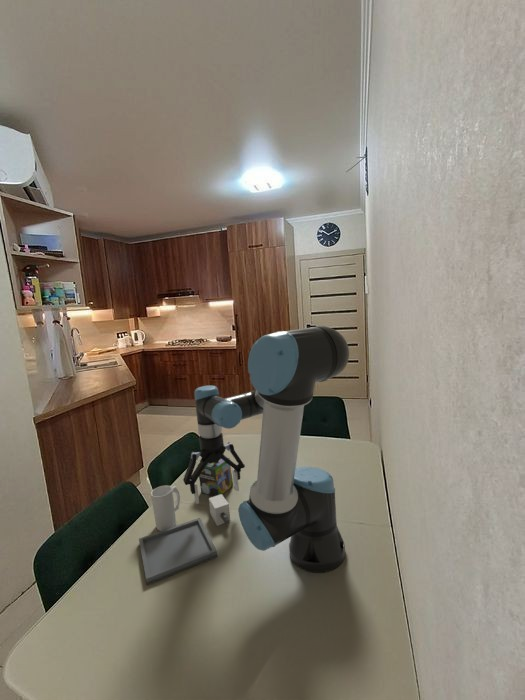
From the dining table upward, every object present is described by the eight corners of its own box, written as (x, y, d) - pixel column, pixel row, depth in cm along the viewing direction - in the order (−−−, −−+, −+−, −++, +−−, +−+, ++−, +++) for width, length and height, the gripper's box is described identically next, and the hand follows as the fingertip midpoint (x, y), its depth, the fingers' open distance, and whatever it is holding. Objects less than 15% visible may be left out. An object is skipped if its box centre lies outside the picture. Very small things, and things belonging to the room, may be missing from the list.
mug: (164, 534, 109) (159, 498, 107) (151, 527, 113) (146, 493, 111) (188, 517, 117) (184, 483, 115) (175, 511, 121) (171, 479, 119)
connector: (235, 529, 108) (233, 511, 108) (221, 534, 106) (219, 516, 106) (220, 506, 122) (218, 490, 121) (208, 510, 120) (206, 494, 119)
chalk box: (233, 486, 134) (230, 449, 132) (218, 498, 127) (214, 460, 125) (215, 481, 139) (211, 446, 137) (199, 492, 132) (195, 455, 130)
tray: (217, 556, 97) (216, 550, 97) (147, 585, 89) (146, 578, 89) (200, 522, 113) (199, 517, 113) (139, 544, 105) (138, 538, 105)
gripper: (242, 422, 120) (247, 479, 123) (169, 439, 109) (177, 501, 112) (250, 428, 113) (256, 488, 116) (173, 447, 102) (182, 513, 106)
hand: (217, 495), depth 114 cm, fingers open, 13 cm apart
